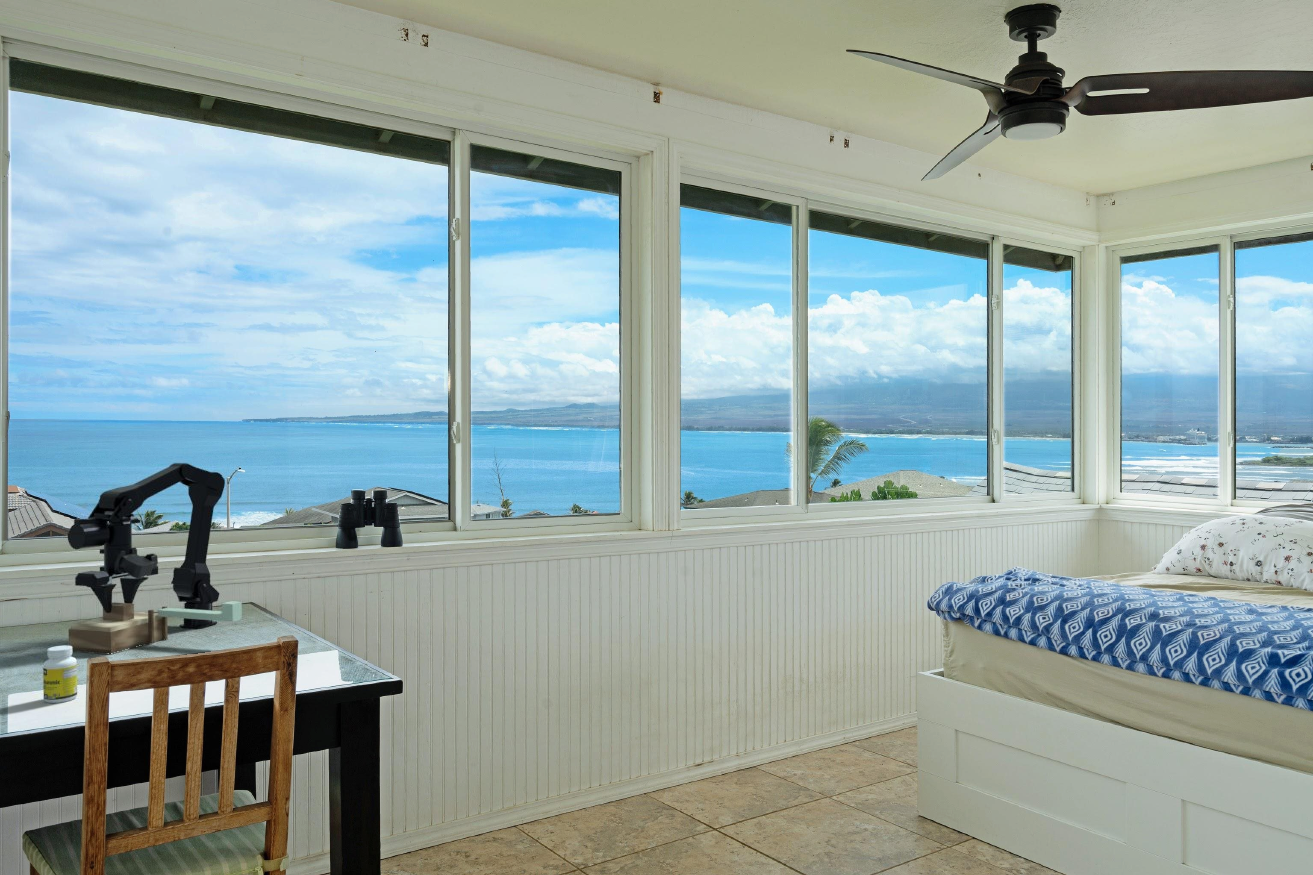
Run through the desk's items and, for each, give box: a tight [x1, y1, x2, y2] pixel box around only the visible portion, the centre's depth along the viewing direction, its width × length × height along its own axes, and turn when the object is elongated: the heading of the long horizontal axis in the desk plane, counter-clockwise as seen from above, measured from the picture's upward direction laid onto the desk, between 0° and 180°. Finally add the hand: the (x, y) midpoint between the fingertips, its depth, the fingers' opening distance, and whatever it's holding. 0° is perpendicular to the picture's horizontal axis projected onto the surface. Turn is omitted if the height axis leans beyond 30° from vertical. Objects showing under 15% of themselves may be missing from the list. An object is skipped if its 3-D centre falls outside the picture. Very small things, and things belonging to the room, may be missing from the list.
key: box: [157, 600, 243, 623], centre depth 221 cm, size 3×21×4 cm, turn 74°
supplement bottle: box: [42, 645, 78, 704], centre depth 178 cm, size 5×5×10 cm
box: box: [68, 606, 169, 655], centre depth 221 cm, size 16×14×8 cm
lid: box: [69, 601, 162, 632], centre depth 221 cm, size 16×11×5 cm
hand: (118, 610), depth 221 cm, fingers open, 5 cm apart
